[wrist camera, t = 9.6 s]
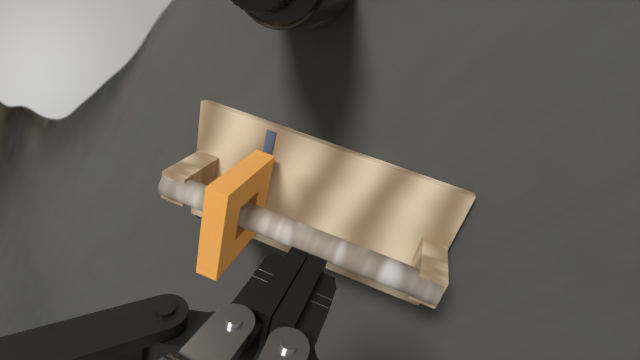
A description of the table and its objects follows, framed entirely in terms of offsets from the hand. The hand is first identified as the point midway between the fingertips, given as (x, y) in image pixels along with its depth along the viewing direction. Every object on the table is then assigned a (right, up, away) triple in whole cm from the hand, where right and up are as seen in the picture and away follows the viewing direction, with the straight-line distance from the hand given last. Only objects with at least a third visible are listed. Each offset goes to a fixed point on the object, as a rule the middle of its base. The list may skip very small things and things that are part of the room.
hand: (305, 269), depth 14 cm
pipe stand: (0, +1, +24) cm, 24 cm away
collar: (-6, +2, +23) cm, 24 cm away
